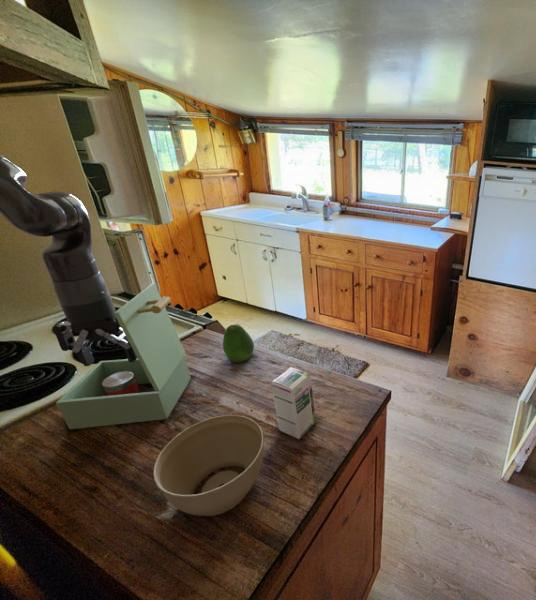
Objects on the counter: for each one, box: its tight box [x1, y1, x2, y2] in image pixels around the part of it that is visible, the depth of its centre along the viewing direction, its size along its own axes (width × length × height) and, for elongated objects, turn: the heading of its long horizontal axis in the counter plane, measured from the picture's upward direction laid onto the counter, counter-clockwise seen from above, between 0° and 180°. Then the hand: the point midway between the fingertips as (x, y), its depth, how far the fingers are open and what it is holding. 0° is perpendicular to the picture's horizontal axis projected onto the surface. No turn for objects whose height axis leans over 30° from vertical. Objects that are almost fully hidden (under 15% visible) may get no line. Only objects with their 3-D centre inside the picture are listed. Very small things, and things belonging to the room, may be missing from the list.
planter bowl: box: [152, 414, 265, 517], centre depth 57 cm, size 16×16×11 cm
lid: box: [114, 283, 186, 392], centre depth 72 cm, size 19×15×5 cm
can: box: [102, 371, 141, 396], centre depth 76 cm, size 6×6×7 cm
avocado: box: [222, 323, 255, 363], centre depth 93 cm, size 8×8×12 cm
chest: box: [55, 354, 192, 430], centre depth 76 cm, size 19×15×8 cm
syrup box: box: [270, 366, 317, 440], centre depth 70 cm, size 6×6×14 cm
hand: (112, 362), depth 72 cm, fingers open, 8 cm apart
